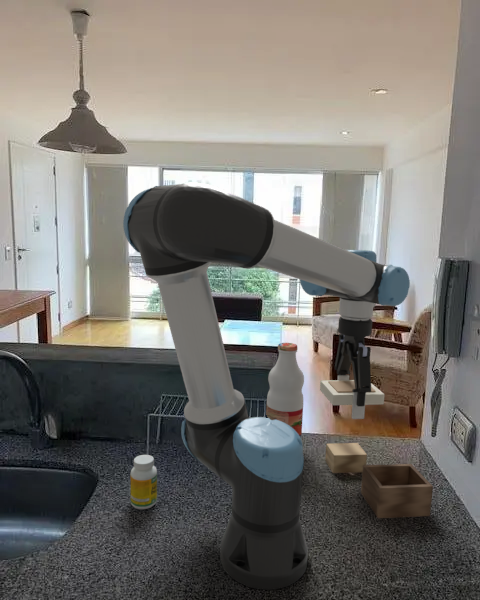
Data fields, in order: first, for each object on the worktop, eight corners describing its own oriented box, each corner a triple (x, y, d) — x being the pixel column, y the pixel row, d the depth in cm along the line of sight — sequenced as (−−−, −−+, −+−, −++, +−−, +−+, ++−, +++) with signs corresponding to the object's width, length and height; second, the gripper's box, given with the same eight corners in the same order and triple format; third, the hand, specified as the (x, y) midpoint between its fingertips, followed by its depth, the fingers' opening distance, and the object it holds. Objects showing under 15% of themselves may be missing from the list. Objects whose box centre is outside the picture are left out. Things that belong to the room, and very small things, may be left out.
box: (377, 520, 92) (380, 488, 91) (360, 495, 101) (362, 465, 100) (429, 518, 94) (433, 486, 93) (408, 493, 102) (411, 463, 101)
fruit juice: (265, 439, 127) (270, 339, 123) (300, 442, 126) (306, 341, 122) (263, 455, 117) (268, 348, 113) (301, 458, 116) (307, 350, 112)
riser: (332, 475, 109) (334, 455, 108) (325, 462, 115) (326, 443, 114) (365, 474, 110) (366, 454, 109) (356, 461, 116) (357, 442, 115)
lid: (332, 405, 104) (333, 393, 104) (319, 389, 114) (320, 379, 114) (383, 404, 106) (384, 392, 105) (366, 389, 115) (367, 378, 115)
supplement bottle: (133, 495, 98) (133, 452, 97) (158, 495, 99) (158, 452, 97) (128, 510, 93) (127, 465, 92) (154, 510, 93) (155, 465, 92)
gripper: (392, 327, 96) (384, 429, 100) (353, 308, 118) (348, 392, 122) (358, 327, 95) (351, 430, 99) (325, 308, 117) (320, 392, 121)
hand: (349, 409), depth 110 cm, fingers closed on lid, 10 cm apart
